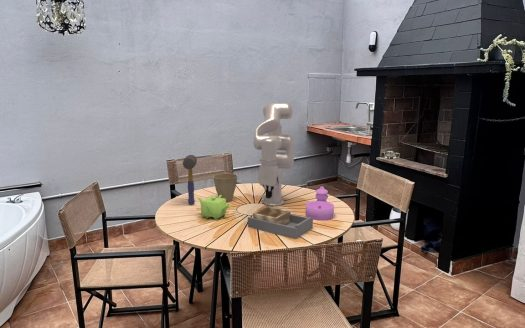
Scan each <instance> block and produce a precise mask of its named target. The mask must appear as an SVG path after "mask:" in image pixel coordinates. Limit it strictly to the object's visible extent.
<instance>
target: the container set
mask: <svg viewBox="0 0 525 328" xmlns="http://www.w3.org/2000/svg"><path fill="white" fill-rule="evenodd" d="M328 192H329V191H328V190H327V189H325V187H324V186H320V187H319V188H318V189H316V191H315V193H316V194H315V199H316V200H312V201H308V202H306V204H305V217H308V218H309V217H312V219H313V221H329V220H332V219H334V213H335V204H334V203H332V202H330V201H329V202H328V201H327V200H328V198H329V195H328Z"/></svg>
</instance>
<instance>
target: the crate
mask: <svg viewBox="0 0 525 328" xmlns="http://www.w3.org/2000/svg"><path fill="white" fill-rule="evenodd" d="M291 214H292V212H291V210H287V209H281V208H277V207H274V206H266V207H263V208H261V209H260V210H257V211H254V212H253V213H252V218H256V219H261V220H265V221H269V222H273V223H278V224H282V225H286V224H288V223H289V222H290V218H291Z"/></svg>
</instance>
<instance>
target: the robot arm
mask: <svg viewBox="0 0 525 328" xmlns="http://www.w3.org/2000/svg"><path fill="white" fill-rule="evenodd" d="M293 112H294V111H293V106H292V103H289V102H270V103H268V104H266V105H263V109H262V113H263V117H264V121H263V122H262V123H260V124H259V125H258V126H257V127H256V128H255V130H254V135H253V141H252V142H253V147H254V148H255V150H256V151H257V150H258V151H261V153H260V154H261V155H260V156H261V158H260V159H259V162H260V164H259V167H258V173H257V174H258V176H257V183H258V184H259V186H261V187H263V189H264V191H265V194H261V196H260V198H261V199H263V201H262V203H263V205H265V206H267V207H279V206H282V205H284V204H285V201H284V200H283V199H282V179H283V177H282V173H281V172H280V170H279V169H292V168H293V167H294V161H295V159H294V158H295V156H294V155H295V139H294V137H293V136H292V134H285V133H284V134H282V132H283V131H282V130H283V127H282V124H281V120H289V119H291V118H292V117H293ZM265 134H266V135H265ZM277 151H284V152H277Z"/></svg>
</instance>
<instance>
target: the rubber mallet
mask: <svg viewBox="0 0 525 328" xmlns="http://www.w3.org/2000/svg"><path fill="white" fill-rule="evenodd" d="M197 161H198V159H197V157H196V156H195V155H193V154H188V155H187V156H186V157H184V159H183V161H182V165H183V168H184V169H186V170H187V177H188V178H187V179H188V181H187V194H188V200H187V202H188V205H191V206H192V205H194V204H195V202H196V200H195V182H194V177H193V168H195V167H196V165H197Z"/></svg>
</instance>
